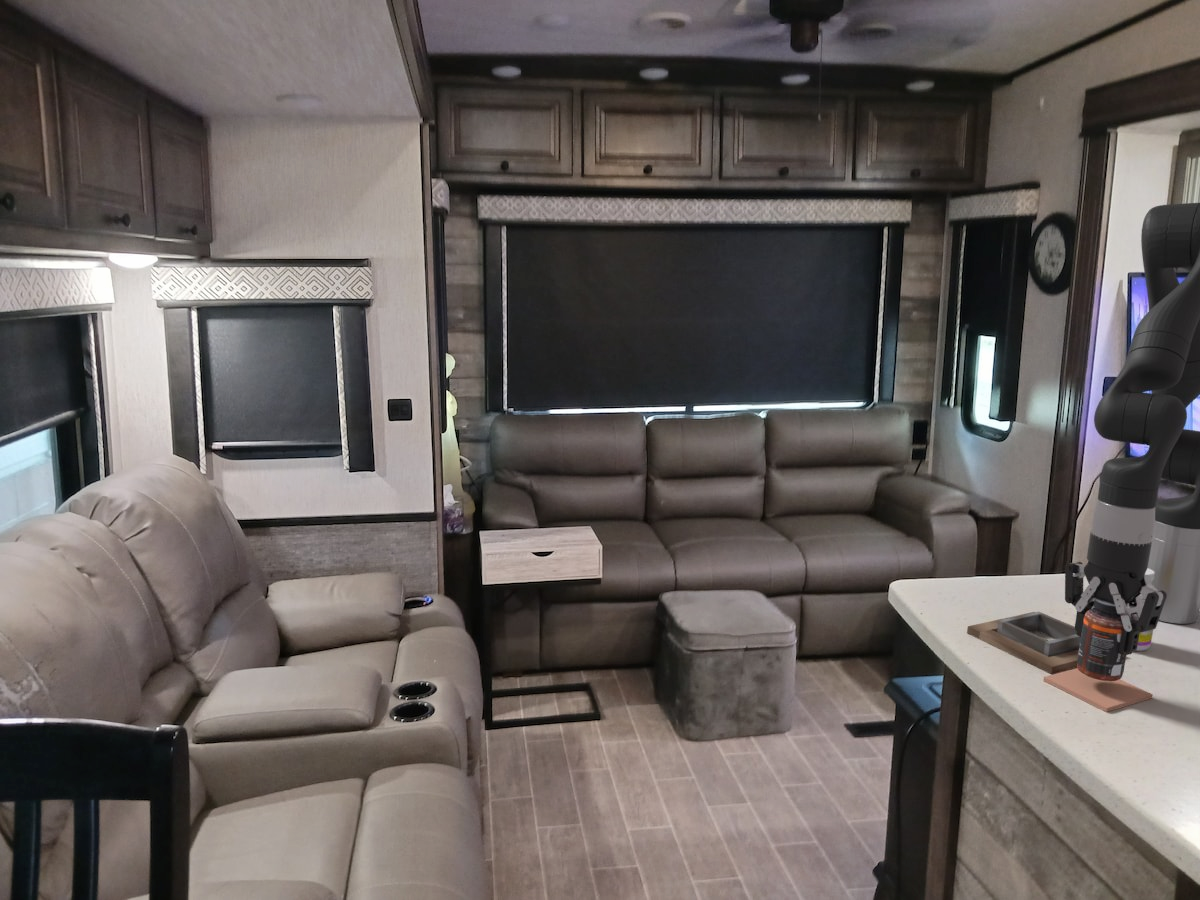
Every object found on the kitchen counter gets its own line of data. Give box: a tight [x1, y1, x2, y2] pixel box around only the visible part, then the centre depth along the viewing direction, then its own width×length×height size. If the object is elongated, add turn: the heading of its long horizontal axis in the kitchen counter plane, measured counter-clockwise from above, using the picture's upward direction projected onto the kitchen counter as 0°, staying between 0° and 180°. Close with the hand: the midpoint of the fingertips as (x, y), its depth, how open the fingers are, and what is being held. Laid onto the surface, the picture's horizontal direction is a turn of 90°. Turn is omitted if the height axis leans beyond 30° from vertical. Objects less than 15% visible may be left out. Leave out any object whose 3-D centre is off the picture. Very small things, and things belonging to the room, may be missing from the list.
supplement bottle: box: [1076, 598, 1127, 681], centre depth 127 cm, size 6×6×11 cm
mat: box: [1042, 667, 1154, 713], centre depth 129 cm, size 10×10×1 cm
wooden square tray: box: [966, 611, 1081, 675], centre depth 144 cm, size 16×16×3 cm
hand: (1103, 644), depth 127 cm, fingers closed on supplement bottle, 6 cm apart
